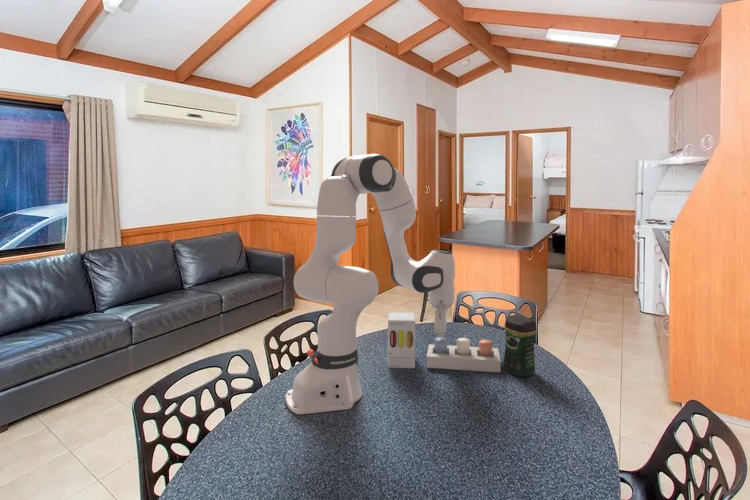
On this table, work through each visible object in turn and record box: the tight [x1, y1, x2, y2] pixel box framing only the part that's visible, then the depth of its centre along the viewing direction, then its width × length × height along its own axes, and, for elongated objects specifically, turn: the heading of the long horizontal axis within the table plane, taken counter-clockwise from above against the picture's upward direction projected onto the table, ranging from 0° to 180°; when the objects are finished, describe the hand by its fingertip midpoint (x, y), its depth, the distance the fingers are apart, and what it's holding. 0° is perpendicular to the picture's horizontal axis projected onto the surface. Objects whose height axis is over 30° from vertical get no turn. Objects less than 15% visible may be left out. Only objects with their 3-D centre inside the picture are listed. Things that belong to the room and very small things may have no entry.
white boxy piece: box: [426, 343, 502, 373], centre depth 150 cm, size 24×11×4 cm, turn 79°
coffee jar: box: [502, 314, 537, 378], centre depth 142 cm, size 10×8×19 cm
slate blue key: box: [433, 336, 448, 353], centre depth 151 cm, size 4×4×4 cm
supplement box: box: [387, 312, 416, 369], centre depth 151 cm, size 10×9×17 cm
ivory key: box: [456, 337, 471, 354], centre depth 150 cm, size 4×4×4 cm
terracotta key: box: [478, 339, 494, 356], centre depth 148 cm, size 4×4×4 cm
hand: (441, 335), depth 151 cm, fingers closed
